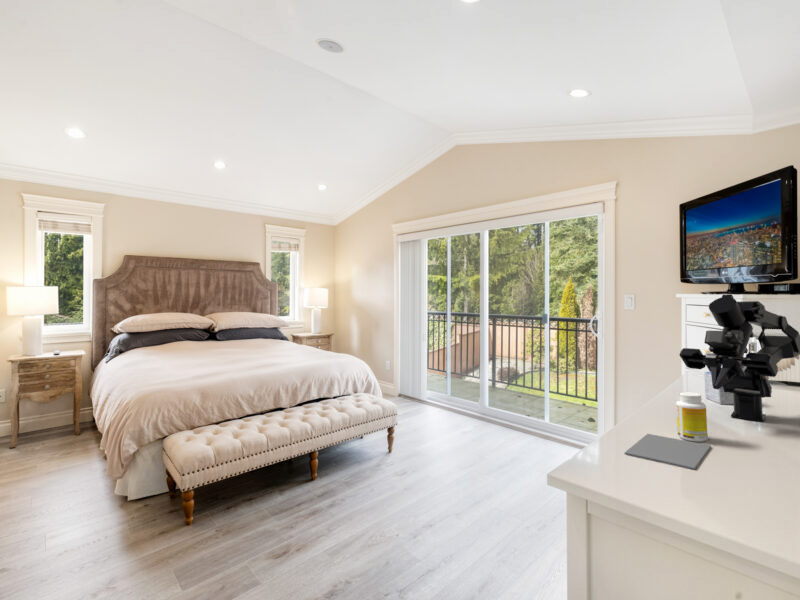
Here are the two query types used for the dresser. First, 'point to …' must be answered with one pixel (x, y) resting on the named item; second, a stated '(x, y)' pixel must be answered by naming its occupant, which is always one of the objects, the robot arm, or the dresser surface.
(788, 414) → the dresser surface
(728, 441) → the dresser surface
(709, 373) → the medicine box
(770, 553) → the dresser surface
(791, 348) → the robot arm
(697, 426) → the supplement bottle
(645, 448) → the mat
